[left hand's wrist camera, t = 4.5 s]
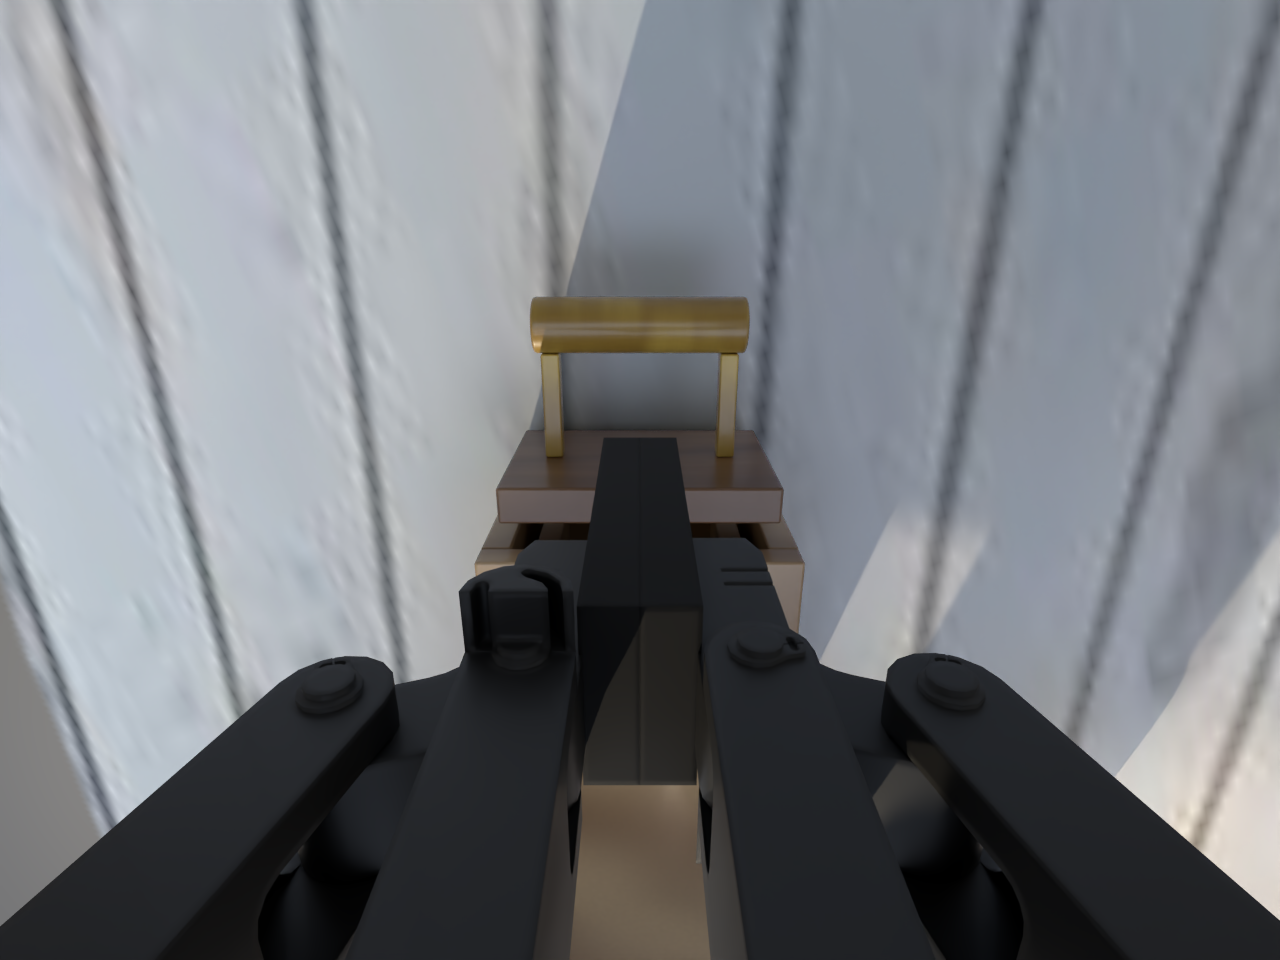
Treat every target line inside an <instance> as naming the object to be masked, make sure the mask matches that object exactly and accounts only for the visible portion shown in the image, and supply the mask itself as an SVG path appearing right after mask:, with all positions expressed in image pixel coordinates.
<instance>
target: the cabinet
mask: <svg viewBox="0 0 1280 960" xmlns="http://www.w3.org/2000/svg"><path fill="white" fill-rule="evenodd" d="M736 524H737V527H738V531H739V534H740V537H741V538H746V539H747V540H748V541H749V542H750V543H752V544H753V545H754V546H755V547H757V548H758V549H759V550H760V551H762V553H763V556H764V559H765V561H766V564H767V567H768V572H769V573H770V575H771V578H772V581H773V586H775V589H776V592H777V595H778V598H779V600H780V603H781V606H782V609H783V612H784V614H785V617H786V620H787V623H788V626H789V628H790V629H791V630H793V631H794V632H796V633H797V634H798V631H799V620H800V610H801V599H802V589H803V579H804V568H805V563H804V561H803V559H802V556H801V554H800V552H799V550H798V547H797V545H796V543H795V541H794V539H793V537H792V534H791V532H790V530H789V528H788V526H787V524H786V522H785V520H784V517H783V515H782V516H781V522H780V523H736ZM542 526H543V523H499V521H498V515H497V517H496V519H495V521H494V524H493V526H492V528H491V530H490V532H489V534H488V536H487V538H486V541H485V543H484V545H483V547H482V550H481V551H480V553H479V555H478V558H477V560H476V562H475V573H476V576H477V575H479V574H481V573H483V572H485V571H489V570H492V569H496V568H499V567H503V566H512V565H514V564H515V561H516V559H517V556H518V554H519V553H520V552H521V551H523V550H524V549H525V548H526V547H528V546H529V545H530V544H531V543H532V542H534V541H535V540H538V539H539V536H540V533H541V530H542ZM581 797H582V828H581V839H580V850H579V861H578V872H577V883H576V894H575V905H574V916H573V927H572V938H571V949H570V960H711V959H710V948H709V937H708V926H707V915H706V904H705V893H704V882H703V871H702V864H696V848H697V822H698V797H699V781H698V771H697V785H583V775H582V784H581Z"/></svg>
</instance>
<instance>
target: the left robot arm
mask: <svg viewBox="0 0 1280 960" xmlns="http://www.w3.org/2000/svg"><path fill="white" fill-rule="evenodd" d="M459 599H460V608H461V617H462V627H463V636H464V645H465V654H464V656H463V659H462V661H461V664H460V667H458V668H456V669H454V670H451V671H449V672H447V673H444V674H441V675H437V676H433V677H430V678H426V679H421V680H416V681H411V682H406V683H401V684H397V685H395V684H394V678H393V672H392V671H391V670H390V669H389V668H388V667H387V666H386V665H385V664H384V663H383V662H381V661H378V660H375V659H372V658H369V657H355V656H344V657H337V658H334V659H332V658H331V659H327V660H323V661H320V662H317V663H315V664H312V665H310V666H307V667H305V668H302V669H300V670H298V671H296V672H295V673H293V674H292V675H290V676H289V677H287V678H286V679H284V680H283V681H281V682H280V683H279V684H278V685H276V686H275V687H274V688H273V689H272V690H271V691H270V692H268V693H267V694H266V695H265V696H264V697H263V698H262V699H260V700H259V701H258V702H257V703H256V704H255V705H253V706H252V707H251V708H250V709H249V710H248V711H247V712H245V713H244V714H243V715H242V716H241V717H240V718H239V719H237V720H236V721H235V722H234V723H233V724H232V725H231V726H229V727H228V728H227V729H226V730H225V731H224V732H223V733H221V734H220V735H219V736H218V737H217V738H216V739H215V740H213V741H212V742H211V743H210V744H209V745H208V746H207V747H205V748H204V749H203V750H202V751H201V752H200V753H198V754H197V755H196V756H195V757H194V758H193V759H192V760H190V761H189V762H188V763H187V764H186V765H185V766H184V767H182V768H181V769H180V770H179V771H178V772H177V773H176V774H174V775H173V776H172V777H171V778H170V779H169V780H168V781H166V782H165V783H164V784H163V785H162V786H161V787H160V788H158V789H157V790H156V791H155V792H154V793H153V794H152V795H150V796H149V797H148V798H147V799H146V800H145V801H143V802H142V803H141V804H140V805H139V806H138V807H137V808H135V809H134V810H133V811H132V812H131V813H130V814H129V815H127V816H126V817H125V818H124V819H123V820H122V821H121V822H119V823H118V824H117V825H116V826H115V827H114V828H113V829H111V830H110V831H109V832H108V833H107V834H106V835H105V836H103V837H102V838H101V839H100V840H99V841H98V842H97V843H95V844H94V845H93V846H92V847H91V848H90V849H88V850H87V851H86V852H85V853H84V854H83V855H82V856H81V857H79V858H78V859H77V860H76V861H75V862H74V863H72V864H71V865H70V866H69V867H68V868H67V869H66V870H64V871H63V872H62V873H61V874H60V875H59V876H58V877H56V878H55V879H54V880H53V881H52V882H51V883H50V884H48V885H47V886H46V887H45V888H44V889H43V890H42V891H40V892H39V893H38V894H37V895H36V896H35V897H34V898H32V899H31V900H30V901H29V902H28V903H27V904H26V905H24V906H23V907H22V908H21V909H20V910H19V911H17V912H16V913H15V914H14V915H13V916H12V917H11V918H9V919H8V920H7V921H6V922H5V923H4V924H3V925H1V926H0V960H570V949H571V938H572V927H573V916H574V905H575V894H576V883H577V872H578V861H579V850H580V839H581V828H582V797H581V784H582V775H583V785H697V771H698V781H699V797H698V822H697V848H696V864H702V871H703V882H704V893H705V904H706V915H707V926H708V937H709V948H710V959H711V960H1280V920H1278V919H1277V918H1276V917H1275V916H1274V915H1273V914H1272V913H1270V912H1269V911H1268V910H1267V909H1266V908H1265V907H1263V906H1262V905H1261V904H1260V903H1259V902H1258V901H1257V900H1255V899H1254V898H1253V897H1252V896H1251V895H1250V894H1248V893H1247V892H1246V891H1245V890H1244V889H1243V888H1242V887H1240V886H1239V885H1238V884H1237V883H1236V882H1235V881H1233V880H1232V879H1231V878H1230V877H1229V876H1228V875H1226V874H1225V873H1224V872H1223V871H1222V870H1221V869H1220V868H1218V867H1217V866H1216V865H1215V864H1214V863H1213V862H1211V861H1210V860H1209V859H1208V858H1207V857H1206V856H1205V855H1203V854H1202V853H1201V852H1200V851H1199V850H1198V849H1196V848H1195V847H1194V846H1193V845H1192V844H1191V843H1190V842H1188V841H1187V840H1186V839H1185V838H1184V837H1183V836H1181V835H1180V834H1179V833H1178V832H1177V831H1176V830H1174V829H1173V828H1172V827H1171V826H1170V825H1169V824H1168V823H1166V822H1165V821H1164V820H1163V819H1162V818H1161V817H1159V816H1158V815H1157V814H1156V813H1155V812H1154V811H1153V810H1151V809H1150V808H1149V807H1148V806H1147V805H1146V804H1144V803H1143V802H1142V801H1141V800H1140V799H1139V798H1138V797H1136V796H1135V795H1134V794H1133V793H1132V792H1131V791H1129V790H1128V789H1127V788H1126V787H1125V786H1124V785H1122V784H1121V783H1120V782H1119V781H1118V780H1117V779H1116V778H1114V777H1113V776H1112V775H1111V774H1110V773H1109V772H1107V771H1106V770H1105V769H1104V768H1103V767H1102V766H1101V765H1099V764H1098V763H1097V762H1096V761H1095V760H1094V759H1092V758H1091V757H1090V756H1089V755H1088V754H1087V753H1086V752H1084V751H1083V750H1082V749H1081V748H1080V747H1079V746H1077V745H1076V744H1075V743H1074V742H1073V741H1072V740H1071V739H1069V738H1068V737H1067V736H1066V735H1065V734H1064V733H1062V732H1061V731H1060V730H1059V729H1058V728H1057V727H1055V726H1054V725H1053V724H1052V723H1051V722H1050V721H1049V720H1047V719H1046V718H1045V717H1044V716H1043V715H1042V714H1040V713H1039V712H1038V711H1037V710H1036V709H1035V708H1034V707H1032V706H1031V705H1030V704H1029V703H1028V702H1027V701H1025V700H1024V699H1023V698H1022V697H1021V696H1020V695H1019V694H1017V693H1016V692H1015V691H1014V690H1013V689H1012V688H1010V687H1009V686H1008V685H1007V684H1006V683H1005V682H1003V681H1002V680H1001V679H1000V678H998V677H997V676H995V675H994V674H992V673H991V672H989V671H988V670H986V669H985V668H983V667H981V666H979V665H976V664H974V663H971V662H969V661H966V660H964V659H961V658H959V657H955V656H951V655H945V654H937V653H921V654H911V655H908V656H905V657H902V658H899V659H897V660H896V661H895V662H894V663H893V664H892V665H891V666H890V667H889V668H888V671H887V678H886V682H884V681H879V680H874V679H869V678H864V677H859V676H854V675H850V674H847V673H843V672H839V671H836V670H833V669H831V668H829V667H826V666H824V665H822V664H820V663H819V660H818V658H817V655H816V653H815V651H814V649H813V648H812V647H811V645H810V644H809V642H808V641H807V640H806V639H805V638H804V637H802V636H801V635H799V634H797V633H796V632H794V631H793V630H791V629H790V628H789V626H788V623H787V620H786V617H785V614H784V612H783V609H782V606H781V603H780V600H779V598H778V595H777V592H776V589H775V586H773V581H772V578H771V575H770V573H769V572H768V567H767V564H766V561H765V559H764V556H763V553H762V551H760V550H759V549H758V548H757V547H755V546H754V545H753V544H752V543H750V542H749V541H748V540H747V539H746V538H692V532H691V526H690V520H689V514H688V507H687V501H686V495H685V489H684V482H683V476H682V470H681V464H680V457H679V451H678V445H677V439H676V438H604V439H603V445H602V451H601V457H600V464H599V470H598V476H597V482H596V489H595V495H594V501H593V507H592V514H591V520H590V526H589V532H588V538H587V540H535V541H534V542H532V543H531V544H530V545H529V546H528V547H526V548H525V549H524V550H523V551H521V552H520V553H519V554H518V556H517V559H516V561H515V564H514V565H512V566H503V567H499V568H496V569H492V570H489V571H485V572H483V573H481V574H479V575H477V576H476V577H474V578H472V579H470V580H468V581H467V583H466V584H465V585H464V586H463V587H462V588H461V590H460V591H459Z"/></svg>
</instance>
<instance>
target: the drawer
mask: <svg viewBox="0 0 1280 960" xmlns="http://www.w3.org/2000/svg"><path fill="white" fill-rule="evenodd" d="M749 323H750V316H749V304H748V300H747V298H745V297H534V298H533V299H532V302H531V308H530V332H531V341H532V346H533V349H534V351H535V352H536V353H542V354H541V371H542V391H543V410H544V429H545V430H528V431H526V433H525V435H524V437H523V439H522V440H521V442H520V444H519V446H518V448H517V450H516V452H515V454H514V456H513V458H512V460H511V462H510V464H509V465H508V467H507V469H506V471H505V473H504V475H503V477H502V479H501V481H500V483H499V485H498V487H497V489H496V497H497V510H498V521H499V523H543V526H542V530H541V533H540V536H539V539H538V540H587V538H588V532H589V526H590V520H591V514H592V507H593V501H594V495H595V489H596V482H597V476H598V470H599V464H600V457H601V451H602V445H603V439H604V438H676V439H677V445H678V451H679V457H680V464H681V470H682V476H683V482H684V489H685V495H686V501H687V507H688V514H689V520H690V526H691V532H692V538H741V537H740V534H739V531H738V527H737V524H736V523H780V522H781V516H782V504H783V491H784V490H783V488H782V486H781V484H780V482H779V480H778V478H777V476H776V474H775V472H774V470H773V468H772V466H771V464H770V462H769V460H768V459H767V457H766V455H765V453H764V451H763V449H762V447H761V445H760V443H759V441H758V439H757V437H756V435H755V433H754V431H752V430H735V422H736V402H737V383H738V363H739V355H738V353H744V352H745V351H746V348H747V344H748V338H749ZM561 353H719V361H718V386H717V410H716V430H564V420H563V395H562V371H561Z"/></svg>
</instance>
